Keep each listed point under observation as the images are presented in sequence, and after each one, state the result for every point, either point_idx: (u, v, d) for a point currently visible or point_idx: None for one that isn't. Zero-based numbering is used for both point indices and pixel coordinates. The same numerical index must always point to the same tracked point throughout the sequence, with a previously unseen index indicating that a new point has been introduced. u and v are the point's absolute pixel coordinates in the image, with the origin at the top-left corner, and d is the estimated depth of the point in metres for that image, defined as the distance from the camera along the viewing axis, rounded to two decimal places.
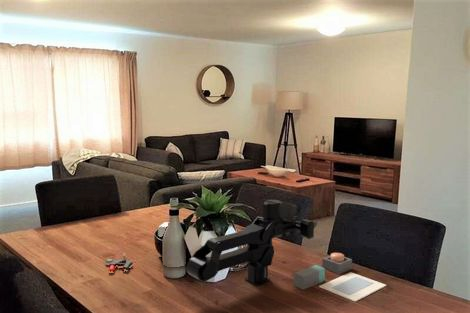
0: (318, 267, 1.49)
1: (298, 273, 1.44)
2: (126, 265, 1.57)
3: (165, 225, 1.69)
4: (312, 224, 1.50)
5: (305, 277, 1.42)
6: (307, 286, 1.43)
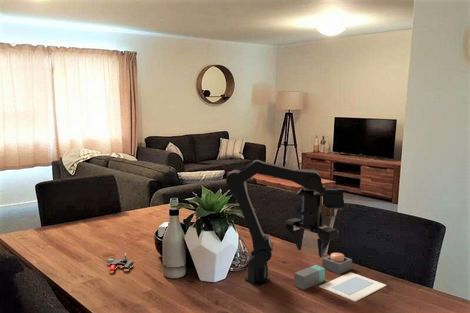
0: (318, 267, 1.49)
1: (298, 273, 1.44)
2: (127, 265, 1.57)
3: (165, 225, 1.69)
4: (337, 235, 1.39)
5: (305, 277, 1.42)
6: (307, 286, 1.43)
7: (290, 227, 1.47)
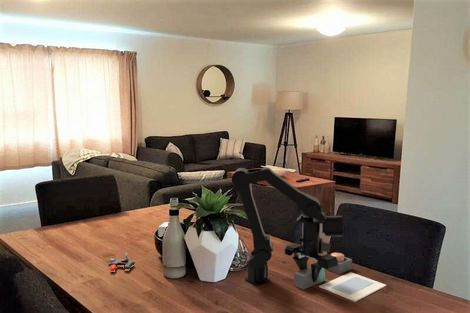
0: None
1: (298, 273, 1.44)
2: (127, 265, 1.57)
3: (165, 225, 1.69)
4: (337, 263, 1.40)
5: (304, 277, 1.42)
6: (307, 286, 1.43)
7: (290, 253, 1.48)
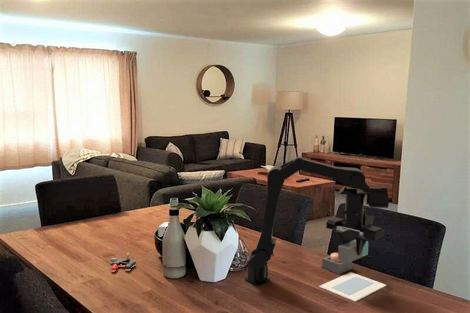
0: None
1: (342, 246, 1.40)
2: (129, 264, 1.57)
3: (165, 225, 1.69)
4: (383, 234, 1.36)
5: (350, 249, 1.38)
6: (352, 259, 1.39)
7: (332, 227, 1.44)
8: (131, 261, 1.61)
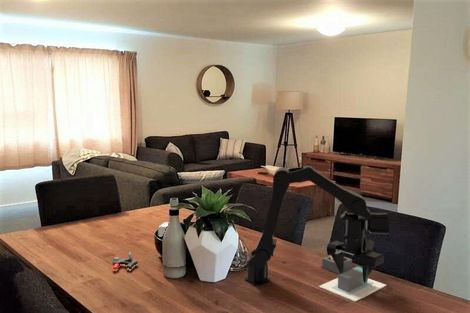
0: (361, 269, 1.46)
1: (342, 275, 1.41)
2: (130, 264, 1.58)
3: (165, 225, 1.69)
4: (383, 260, 1.37)
5: (349, 279, 1.39)
6: (351, 288, 1.40)
7: (332, 251, 1.46)
8: (133, 261, 1.61)
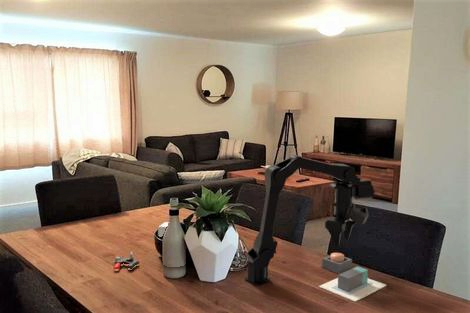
0: (361, 269, 1.46)
1: (342, 275, 1.41)
2: (131, 264, 1.58)
3: (165, 225, 1.69)
4: (338, 228, 1.44)
5: (349, 279, 1.39)
6: (351, 288, 1.40)
7: None
8: (134, 260, 1.61)
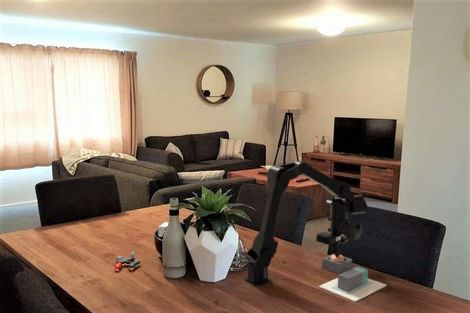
0: (361, 269, 1.46)
1: (342, 275, 1.41)
2: (132, 264, 1.58)
3: (165, 225, 1.69)
4: (326, 242, 1.51)
5: (349, 279, 1.39)
6: (351, 288, 1.40)
7: None
8: (135, 260, 1.61)
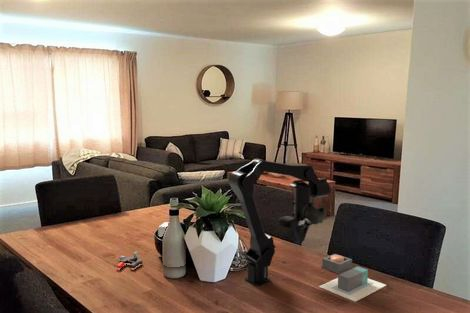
0: (361, 269, 1.46)
1: (342, 275, 1.41)
2: (134, 263, 1.58)
3: (165, 225, 1.69)
4: (288, 225, 1.47)
5: (349, 279, 1.39)
6: (351, 288, 1.40)
7: None
8: (138, 260, 1.62)
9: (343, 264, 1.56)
